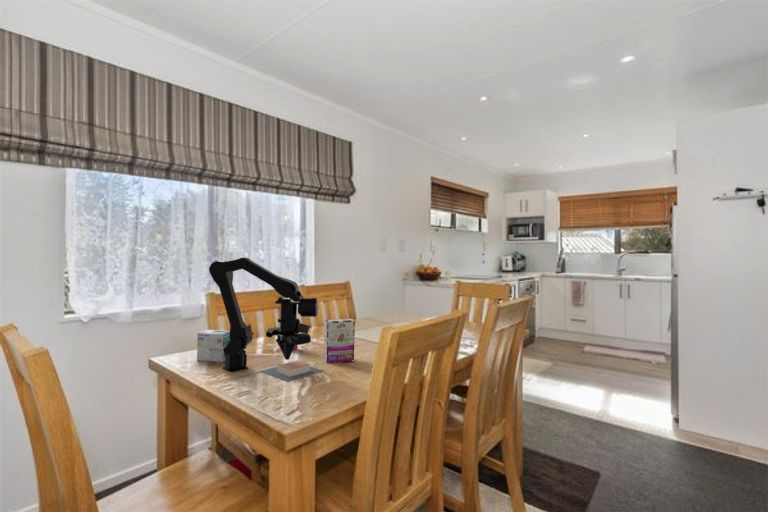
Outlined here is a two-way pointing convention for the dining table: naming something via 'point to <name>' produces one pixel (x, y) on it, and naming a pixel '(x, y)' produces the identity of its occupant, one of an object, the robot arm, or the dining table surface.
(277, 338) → the robot arm
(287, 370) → the deck
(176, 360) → the dining table surface
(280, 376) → the mat
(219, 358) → the light bulb box
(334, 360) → the candy bar box
